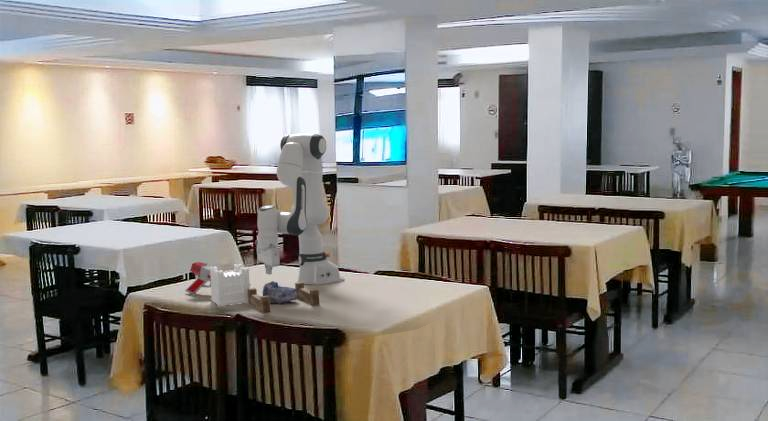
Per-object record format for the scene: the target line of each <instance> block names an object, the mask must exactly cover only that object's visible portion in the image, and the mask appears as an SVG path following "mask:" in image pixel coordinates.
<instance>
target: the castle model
mask: <svg viewBox="0 0 768 421" xmlns="http://www.w3.org/2000/svg"><path fill="white" fill-rule="evenodd" d="M233 267H234V268H233V269H229V270H220V269H219V270H220V271H217V270H218V266H211V267H210V273H211V287H210V288H211V289H210V290H211V297H210V301H211V300H212V301H213V302H214V303H213V302H212V301H211V302H212V303H213V304H215V303H216V304H217V305H218V306H222V307H226V306H225V305H229V306H232V305H231V304H237V305H240V304H239V303H245V304H248V289H251V288H250V287H251V283H250V270H249V267H247V266H246V267H243V264H242V263H238V264H235V263H234V264H233ZM216 304H215V305H216ZM217 305H216V306H217ZM218 306H217V307H218Z"/></svg>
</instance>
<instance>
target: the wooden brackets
mask: <svg viewBox="0 0 768 421" xmlns="http://www.w3.org/2000/svg"><path fill="white" fill-rule="evenodd" d="M294 286H295V289H296V292H295V293H297V299H299V300H301V301H303V302H305V303H308V304H309V305H310V306H312V307H314V306H315V307H316V306H320V302H321V301H320V289H318V288H314V289H308V288H305V284H304V283H303V282H299V283H298V282H295V283H294ZM257 291H258V290H257V288H256V287H253V288H250V289H248V303H247V304H248V305H249V304H251V305H250V306H252V305H253V306H252V307H253V308H255V307H256V308H255V309H257V310H258V311H260V313H262V314H265V313H271V303H270V296H268V295H267V296H263V295H259V294H258V292H257Z"/></svg>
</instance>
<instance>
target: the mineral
mask: <svg viewBox="0 0 768 421" xmlns="http://www.w3.org/2000/svg"><path fill="white" fill-rule="evenodd" d="M267 295H268V296H270V304H273V303H276V304H279V305H281V304H284V303H285V302H292V301H297V299H298V298H297V293H296V289H295V288H294V287H288V286H280V285H279V284H278V282H277V281H273V280H272V281H270V282H268V283H267V282H266V283H264V286H263V289H262V296H267Z"/></svg>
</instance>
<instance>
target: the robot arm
mask: <svg viewBox="0 0 768 421" xmlns="http://www.w3.org/2000/svg"><path fill="white" fill-rule="evenodd" d="M279 145H280V150H281V151H280V153H279V157H278V158H279V159H278V163H277V167H276V177H277V179H278V181H279V182H280V183H281V184H282V185H284V186H286V187H287V188H290V190H292V192H293V204H292V205H291V208H290V211H289V212H288V211H281V210H279V209H277V207H276V205H272V204H270V205H268V204H267V205H262V206H261V207H259V208H258V212H257V225H256V226H257V230H258V232H257V239H256V240H255V245H256V255H257V259H258V260H257V261H259V262H260V263H262V264H264V270H265V274H266V275H272V274H273V272H272V271H273V268H276V267H279V266H280V263H281V262H280V261H281V260H280V252H279V249H278V247H279V234H283V235H292V236H297V237H298V243H299V244H298V246H299V253H298V264H299V270H298V271H299V272H298V278H297V283H299V282H303V283H304V285H318V286H320V285H326V284H331V283H336V282H342V281H345V276H342V275H340V270H339V268H338V266H337V265H336V264H334V263H333V262H332V261H330V260H329V259H327V258H330V256H331V254H330V252H325V251H323V235H322V233H321V232H320V229H319V226H318V225H322V224H324V223H326V222H327V220H328V219H329V216H330V212H329V209H328V207H327V205H326V202H325V199H324V198H325V197H324V192H323V173H324V172H323V170H324V169H323V168H324V167H323V155H324V154H325V153H326V149H327V141H326V139H325V137H324V136H323V135H321V134H317V133H315V134H313V133H305V132H303V133H287V134H285V135H284V136H282V138H281V140H280V144H279Z"/></svg>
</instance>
